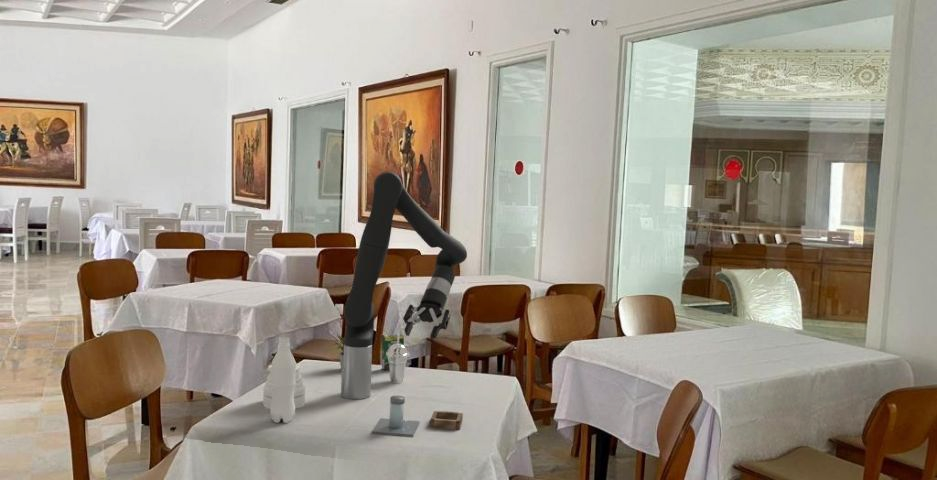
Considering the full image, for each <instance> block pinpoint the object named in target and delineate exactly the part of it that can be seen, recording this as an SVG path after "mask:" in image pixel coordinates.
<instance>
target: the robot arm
mask: <svg viewBox="0 0 937 480" xmlns="http://www.w3.org/2000/svg"><path fill="white" fill-rule="evenodd" d="M371 203H372V205H371V208H370V209H371V210H370V212H369V213H370V214H369V216H368V219H367V222H366V224H365V226H364V229H363V232H362V235H361V237H360V238H361V239H360V241H359V245H358V251H357V257H356V261H355V266H354V267H355V268H354V274H353V281H352V285H351V289H350V290H349V294H348V298H347V299H346V303H345V306H344V307H343V316H344V319H345V321H346V322H345V331H346V332H345V331H344V338H343V340H344V346H343V347H344V365H343V368H342V370H341V377H340V379H341V383H340V387H341V388H340V397H341V398H346V399H350V400H351V399H353V400H359V399H360V400H363V399H367V398H369V397H371V392H372V390H371V389H372V363H373V361H372V359H373V340H374V339H373V338H374V332H375V331H374V327H375V305H374V302H373V299H374V293H375V288H376V285H377V282H378V281H379V278H380V276H381V273H382V271H383V268H384V265H385V262H386V259H387V254H388V249H389V246H390V240H391V234H392V226H393V219H394V214H395V212H396V211H398V212H399V213H400V214H401V216H402V217H403V218H404V219H405V220H406V222H407V223H408V224H409V226H410V227H411V228H412V229H413V230H414V231H415V233H416V234H417V235H418V237H420V238H421V240H423V241H424V242H425V243H426V245H427V246H429V247H430V248H432V249H433V248H440V251H439V253H438V254H437V256H436V259H435V266H434V272H433V273H432V277H431V278H430V281H429V282H428V284H427V285H426V288H425V290H424V293H423V296H422V298H421V300H420V304H419V305H418V306H414V305H413V304H409V306H408V308H407V309H406V312H405V313H404V316H403V317H402V319H403V321H404V324H405V325H406V326H405V327H404V328H405V330H404V333H405V336H407V337H409V336H410V334H411V332H412V330H413V329H414V325H416V324H419V323H421V322H424V323H426V322H427V323H434V326H433V327H432V330H431V332H430V338H431V340H433V341H434V340H435V339H437V338H438V335H439V332H440V331H441V330H447V328H448V326H449V322H450V318H451V316H452V315H451V311H450V310H449V309H445V310H444V308H445V305H446V303H447V300H448V298H449V297H450V293H451V288H452V286H453V284H454V281H455V278H456V272H455V270H454V268H455V267H456V266H458V265H460V264H462V263H463V262H465V261H466V259H467V258H468V252H467V248H466V247H465V246H464V244H463V243H462V242H461V241H459V240H458V239H457V238H455V237H453V235H451V234H449V233H447V232H446V231H445V230H443V227H441V226H440V225H439V224H438V223H437V222H436V220H434V219H433V217H432V216H431V215H429V214H428V212H426V211H425V210H424V209H423V207H421V206H420V205H419V204H418V203H417V202H416V200H414V199H413V197H412V196H411V195H410V194H409V192H408V191H407V189H406V188H405V186H404V185H403V182H402V179H401V178H400V177H399V175H397V173H395V172H391V171H383V172H380V173H379V174H378V175H377V176H376V177H375V179H374V181H373V197H372V202H371ZM440 317H442V320H441V322H439V321H438V319H439V318H440Z"/></svg>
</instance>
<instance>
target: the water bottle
mask: <svg viewBox="0 0 937 480" xmlns="http://www.w3.org/2000/svg"><path fill="white" fill-rule="evenodd" d="M278 346H279V348H278ZM290 346H291V342H290V336H279V338H278V344H277V352H276V353H275V356H274V357H273V359H272V361H271V364H270V365H271V367H272V368H271V369H272V373H271V389H272V403H271V407H270V409H269V410H270V411H269V414H270V417H271V419H272V421H273V422H274V423H276V424H279V423H280V422H281V420H282V421H283V423H284V424H287V423H290V422H291V421H293V419H294V418H295V414H296V409H295V404H294V390H295V386H296V382H295V376H296V364H297V362H296V360H295V358H294V355H293V352H291V351H292V350H291V347H290Z"/></svg>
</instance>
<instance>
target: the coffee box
mask: <svg viewBox="0 0 937 480" xmlns="http://www.w3.org/2000/svg"><path fill="white" fill-rule="evenodd" d="M381 339H382V341H381V342H382V343H381V370H383V371H390V370H389V361H388V356H387V355H386V352H387V351H388V350H389V348H390V346H391V345H393V344H395V343H397V334H391V335H390V334H389V335H387V334H386V335H382V338H381ZM399 343H401V344H403V345H404V346H405V336H404V334H402V333H399Z"/></svg>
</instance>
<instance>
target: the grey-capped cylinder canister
mask: <svg viewBox="0 0 937 480" xmlns="http://www.w3.org/2000/svg"><path fill="white" fill-rule="evenodd" d="M405 400H406V398H405V396H403V395H391V396H390V400H389V401H390V405H389V406H390V407H389V418H388V419H389V427H391V428H401V427H403V420H404V415H405V414H404V412H405V410H404V409H405V402H406V401H405Z"/></svg>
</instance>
